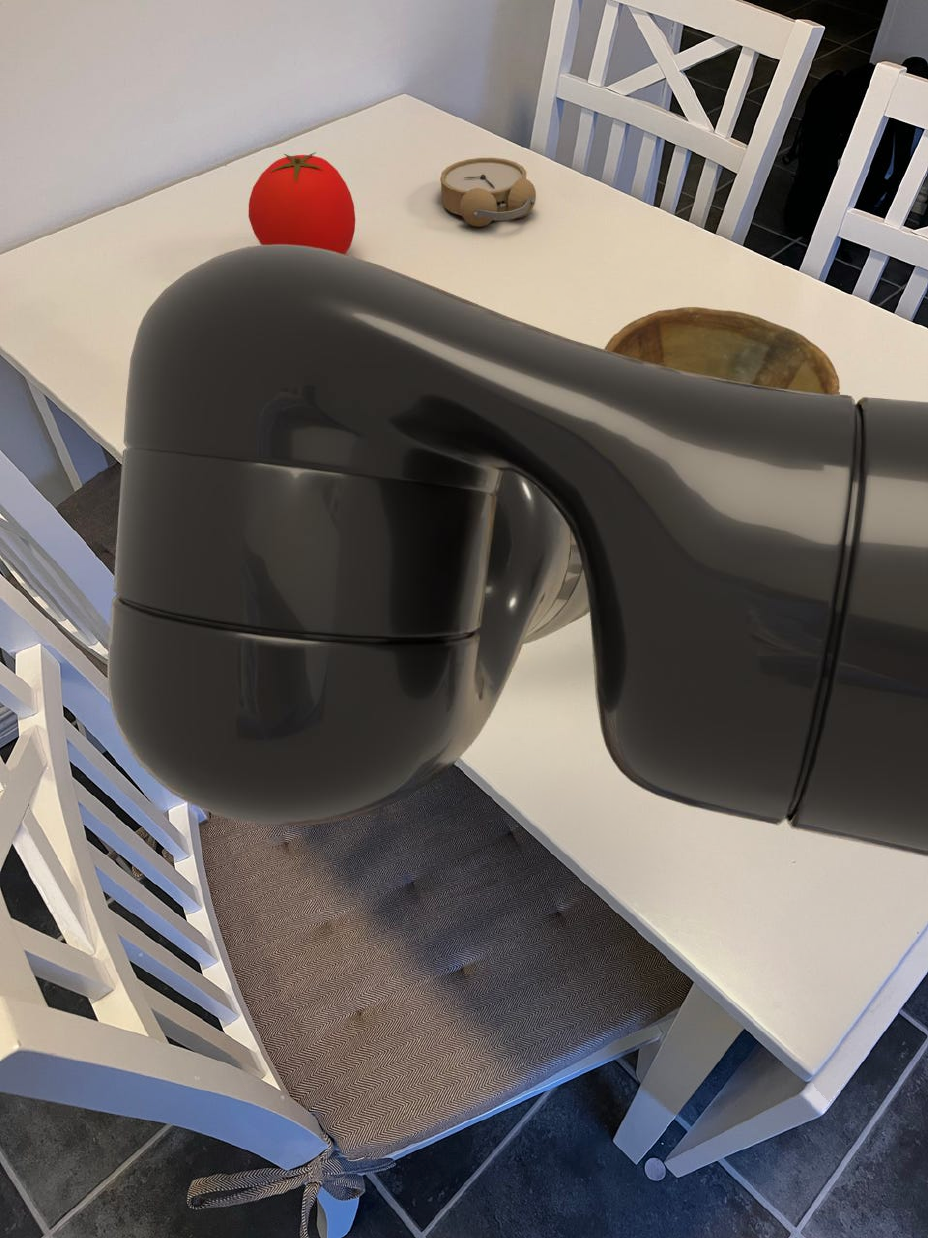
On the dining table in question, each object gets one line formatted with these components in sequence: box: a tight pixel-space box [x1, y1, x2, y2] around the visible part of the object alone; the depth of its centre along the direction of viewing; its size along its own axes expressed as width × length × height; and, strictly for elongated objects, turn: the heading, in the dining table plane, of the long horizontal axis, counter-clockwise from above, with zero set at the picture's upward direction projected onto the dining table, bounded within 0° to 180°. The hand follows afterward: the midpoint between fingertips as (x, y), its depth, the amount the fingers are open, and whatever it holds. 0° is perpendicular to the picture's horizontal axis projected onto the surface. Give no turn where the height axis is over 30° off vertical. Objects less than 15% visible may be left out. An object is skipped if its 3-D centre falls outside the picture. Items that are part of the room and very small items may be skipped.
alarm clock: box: [439, 157, 537, 228], centre depth 118 cm, size 11×5×15 cm
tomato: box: [247, 151, 356, 255], centre depth 107 cm, size 12×12×13 cm
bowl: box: [603, 306, 841, 395], centre depth 86 cm, size 22×23×10 cm
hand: (585, 537), depth 50 cm, fingers closed
